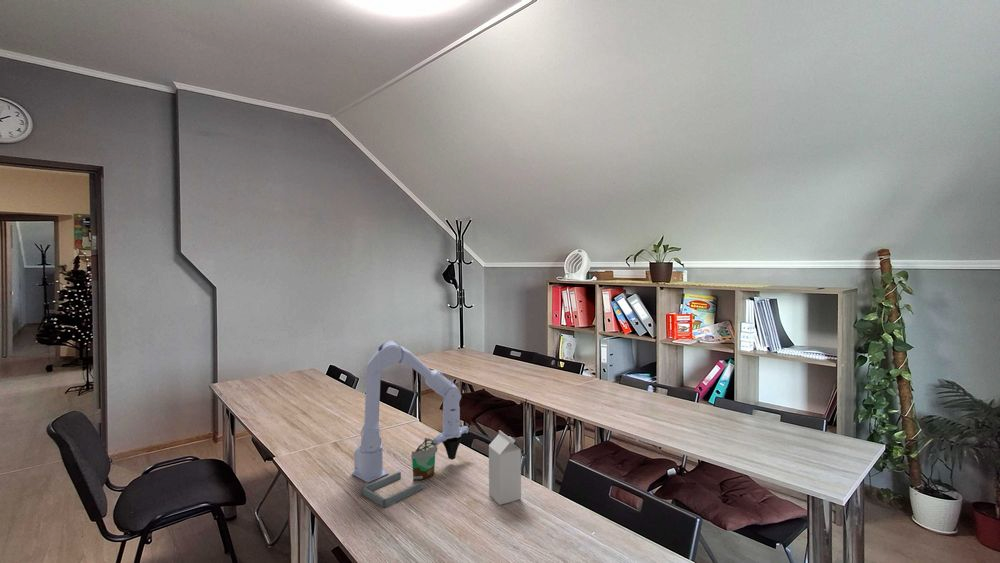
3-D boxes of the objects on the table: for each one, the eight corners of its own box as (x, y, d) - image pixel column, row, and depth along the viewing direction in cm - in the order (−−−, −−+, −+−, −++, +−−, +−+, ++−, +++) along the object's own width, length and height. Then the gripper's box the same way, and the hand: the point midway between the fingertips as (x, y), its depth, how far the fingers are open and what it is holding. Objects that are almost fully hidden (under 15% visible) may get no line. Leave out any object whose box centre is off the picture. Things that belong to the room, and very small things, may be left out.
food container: (430, 485, 142) (429, 453, 142) (411, 483, 144) (411, 452, 143) (442, 467, 154) (442, 438, 154) (425, 465, 156) (425, 437, 155)
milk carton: (499, 505, 130) (499, 440, 129) (488, 494, 137) (488, 432, 136) (521, 499, 134) (521, 436, 133) (509, 488, 140) (509, 428, 139)
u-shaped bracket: (361, 493, 137) (361, 487, 137) (399, 477, 148) (399, 471, 147) (384, 507, 130) (384, 500, 129) (422, 489, 140) (422, 482, 140)
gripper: (443, 428, 148) (443, 469, 149) (474, 416, 159) (474, 454, 160) (429, 423, 153) (429, 463, 154) (460, 412, 164) (460, 449, 164)
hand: (451, 458), depth 157 cm, fingers closed
